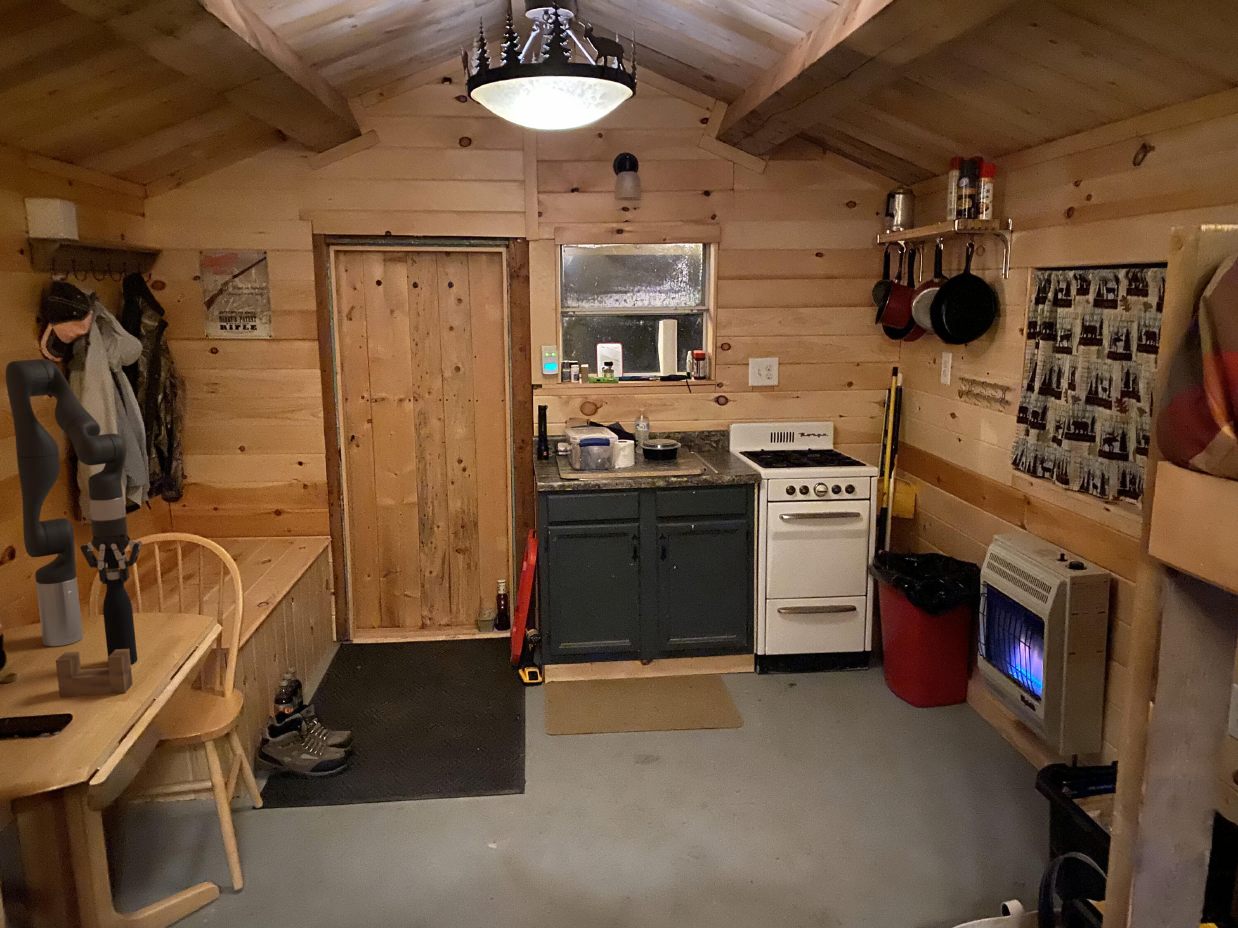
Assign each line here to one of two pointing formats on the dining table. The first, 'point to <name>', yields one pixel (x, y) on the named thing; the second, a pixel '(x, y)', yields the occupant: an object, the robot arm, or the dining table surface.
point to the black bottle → (118, 611)
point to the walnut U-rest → (94, 675)
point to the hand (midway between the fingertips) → (115, 582)
